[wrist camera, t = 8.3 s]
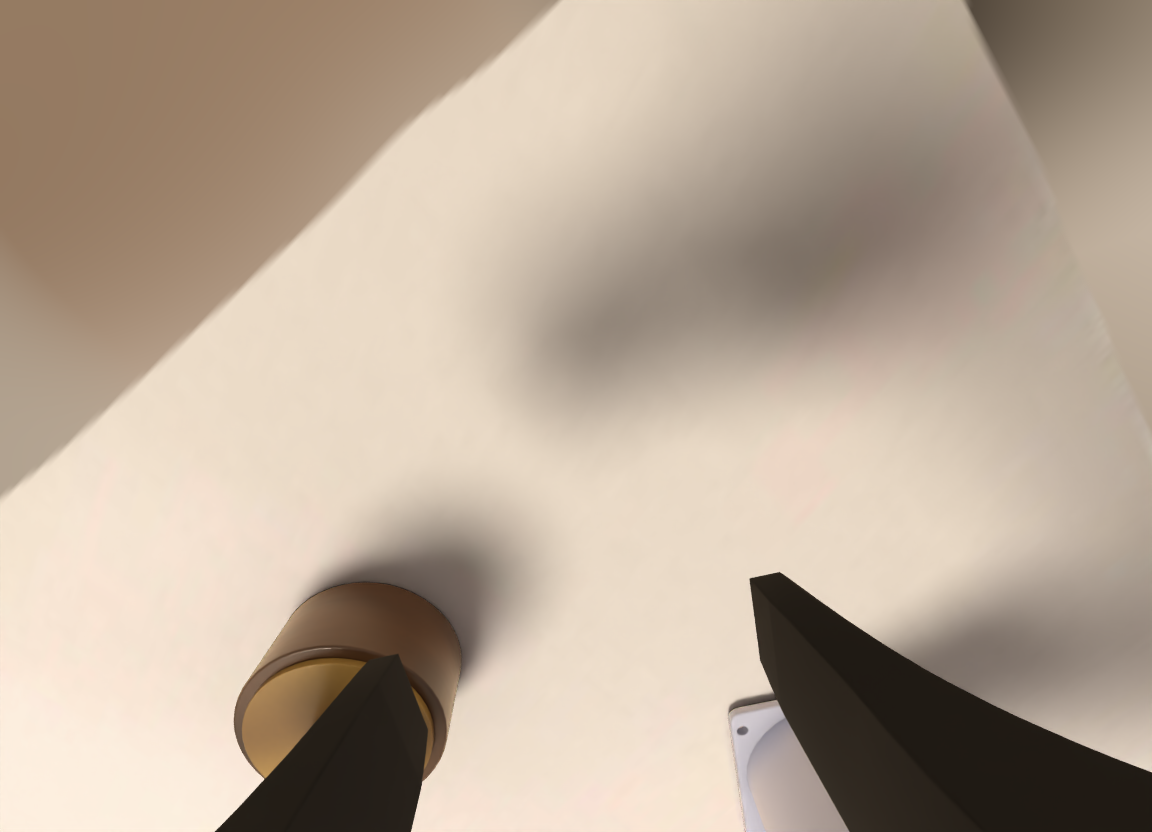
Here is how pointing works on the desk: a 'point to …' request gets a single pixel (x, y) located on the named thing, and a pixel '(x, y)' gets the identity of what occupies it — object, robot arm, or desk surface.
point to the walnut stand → (347, 667)
